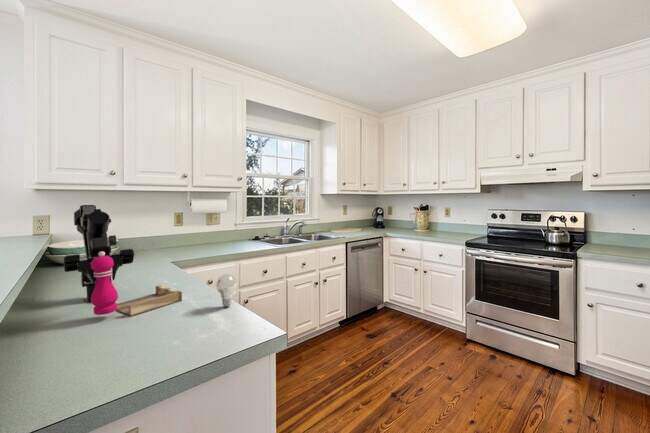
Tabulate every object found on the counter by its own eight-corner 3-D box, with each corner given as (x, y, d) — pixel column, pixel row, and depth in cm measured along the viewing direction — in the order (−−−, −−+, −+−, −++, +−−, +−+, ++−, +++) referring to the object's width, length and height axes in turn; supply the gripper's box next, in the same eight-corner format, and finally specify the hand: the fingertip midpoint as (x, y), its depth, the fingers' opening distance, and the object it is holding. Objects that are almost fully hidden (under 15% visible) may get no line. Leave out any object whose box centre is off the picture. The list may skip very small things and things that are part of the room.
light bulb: (219, 303, 113) (218, 272, 112) (238, 303, 113) (237, 271, 112) (214, 310, 106) (213, 277, 105) (234, 310, 106) (233, 276, 105)
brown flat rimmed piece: (109, 307, 110) (109, 297, 110) (159, 293, 125) (159, 285, 125) (131, 316, 101) (130, 306, 101) (182, 300, 116) (181, 291, 116)
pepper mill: (104, 316, 96) (99, 254, 94) (86, 314, 97) (81, 253, 95) (124, 307, 103) (120, 249, 101) (106, 305, 104) (102, 248, 102)
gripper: (61, 230, 94) (65, 272, 87) (132, 225, 106) (140, 262, 99) (62, 251, 101) (66, 292, 93) (128, 244, 113) (136, 280, 106)
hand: (103, 281), depth 98 cm, fingers closed on pepper mill, 5 cm apart
